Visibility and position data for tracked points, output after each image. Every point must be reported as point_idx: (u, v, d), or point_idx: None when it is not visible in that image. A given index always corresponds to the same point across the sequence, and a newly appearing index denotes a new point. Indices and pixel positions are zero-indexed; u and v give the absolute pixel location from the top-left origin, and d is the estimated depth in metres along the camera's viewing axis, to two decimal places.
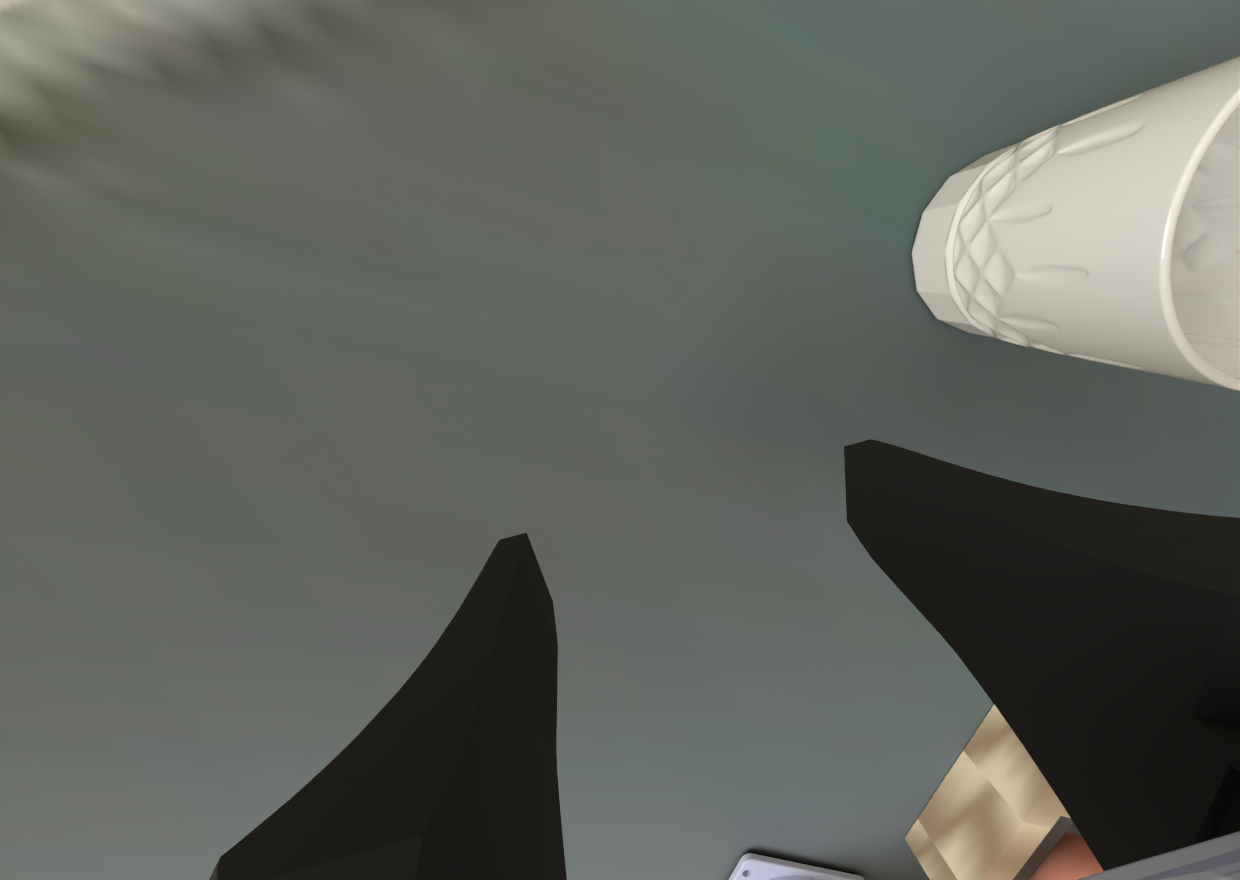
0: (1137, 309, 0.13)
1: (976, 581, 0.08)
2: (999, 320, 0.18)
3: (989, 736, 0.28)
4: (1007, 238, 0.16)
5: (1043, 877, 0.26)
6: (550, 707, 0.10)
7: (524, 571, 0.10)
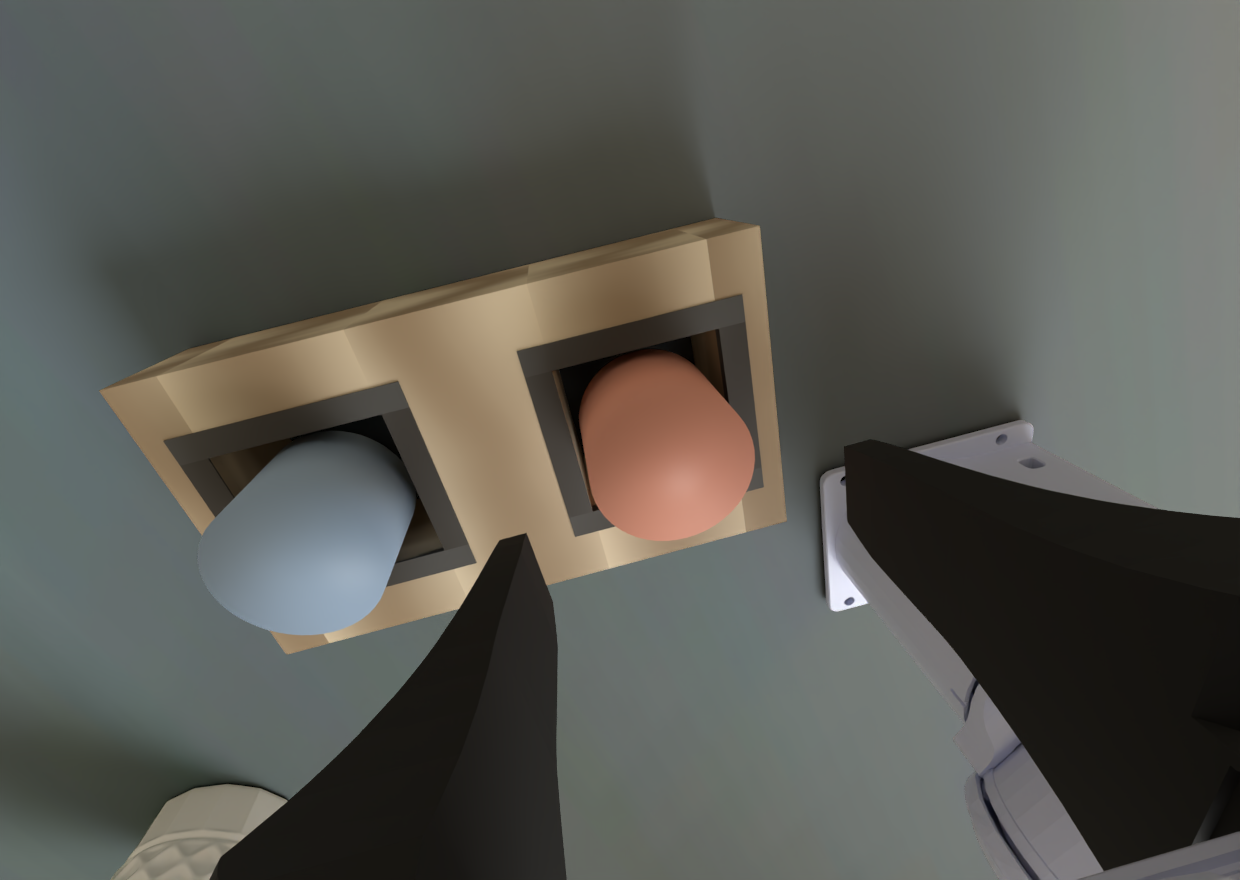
0: None
1: (976, 581, 0.08)
2: None
3: None
4: None
5: None
6: (550, 707, 0.10)
7: (524, 571, 0.10)
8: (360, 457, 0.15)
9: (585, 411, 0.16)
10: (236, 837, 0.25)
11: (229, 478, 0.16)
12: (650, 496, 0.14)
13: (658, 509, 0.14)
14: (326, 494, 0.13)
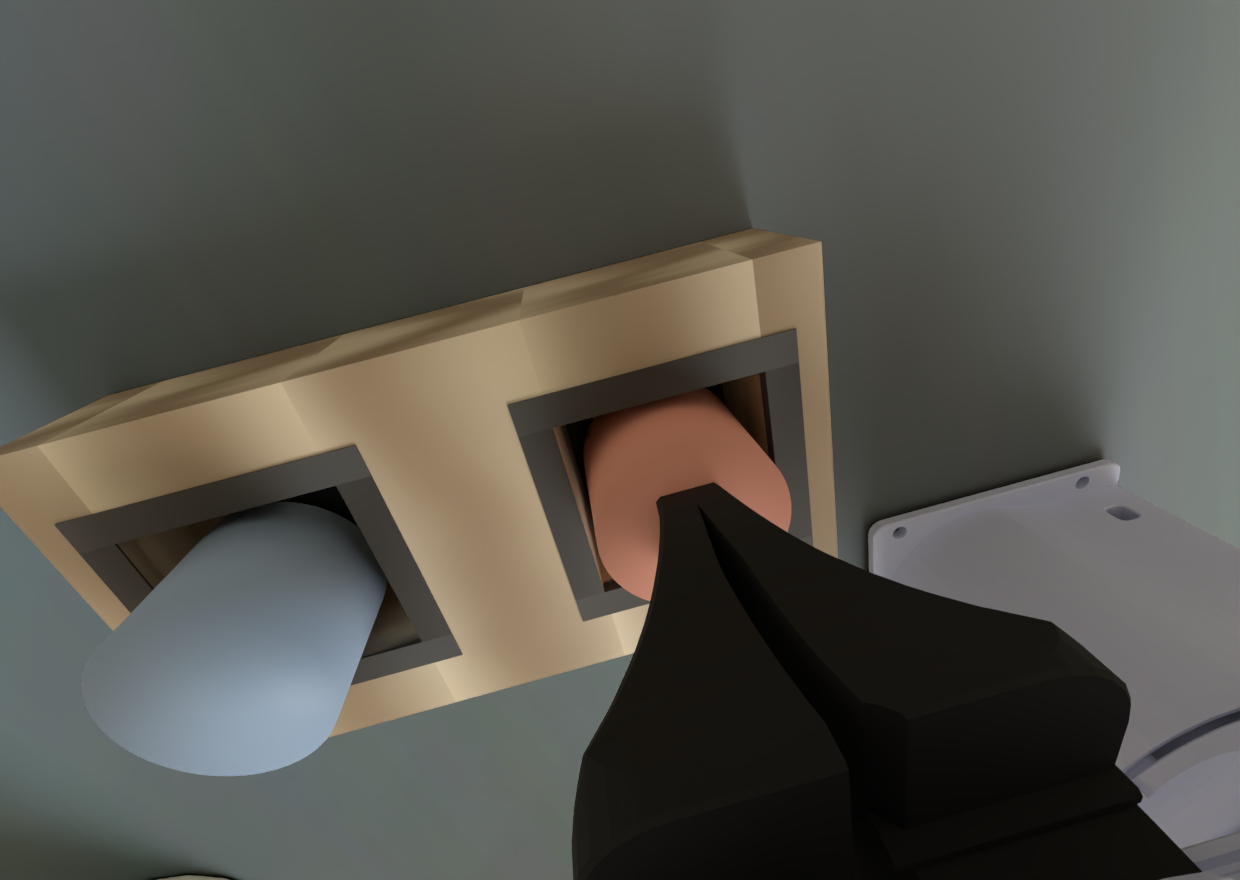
0: None
1: (764, 640, 0.08)
2: None
3: None
4: None
5: None
6: None
7: None
8: (309, 540, 0.12)
9: (590, 451, 0.14)
10: None
11: (147, 564, 0.12)
12: None
13: None
14: (253, 605, 0.10)
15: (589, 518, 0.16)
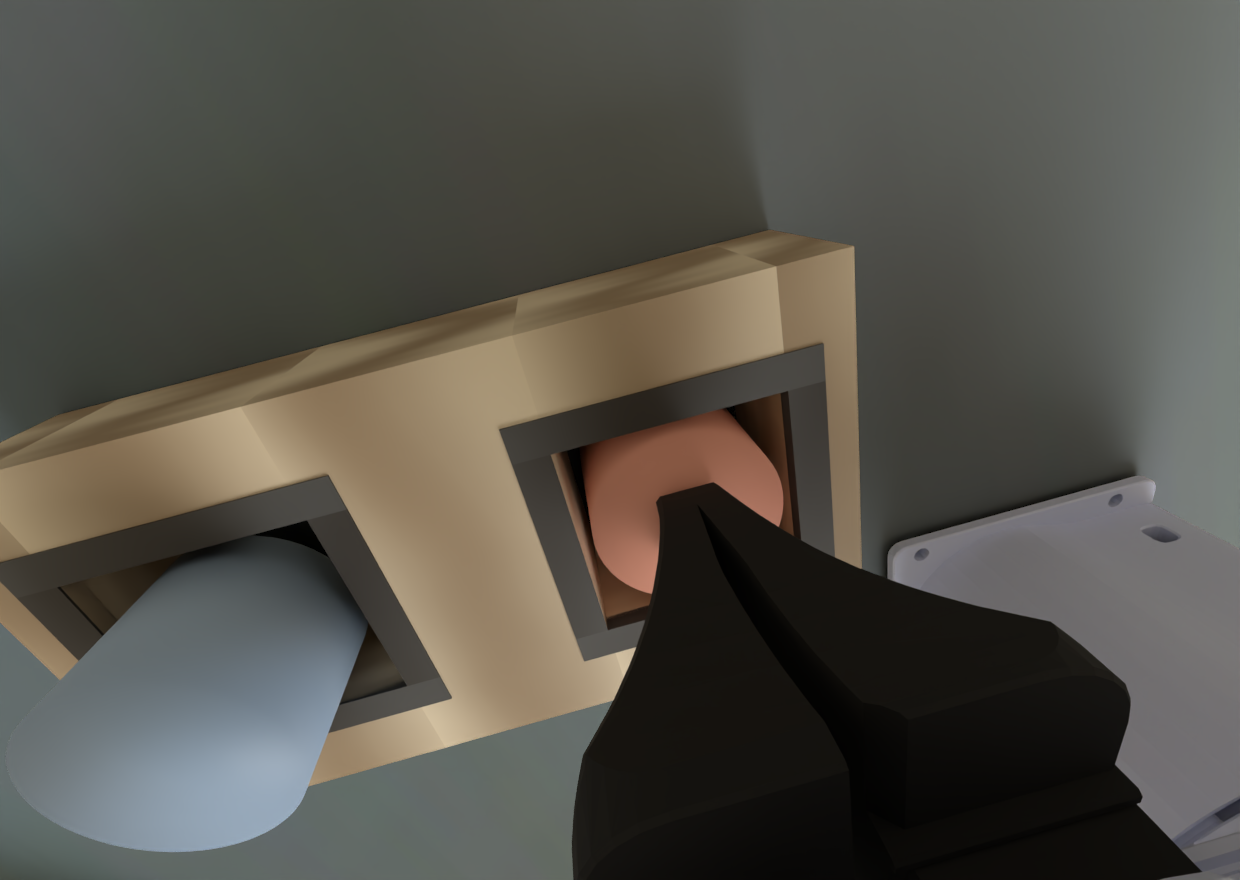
0: None
1: (764, 640, 0.08)
2: None
3: None
4: None
5: None
6: None
7: None
8: (277, 582, 0.11)
9: (586, 445, 0.14)
10: None
11: (96, 607, 0.11)
12: None
13: None
14: (207, 666, 0.09)
15: (590, 545, 0.15)
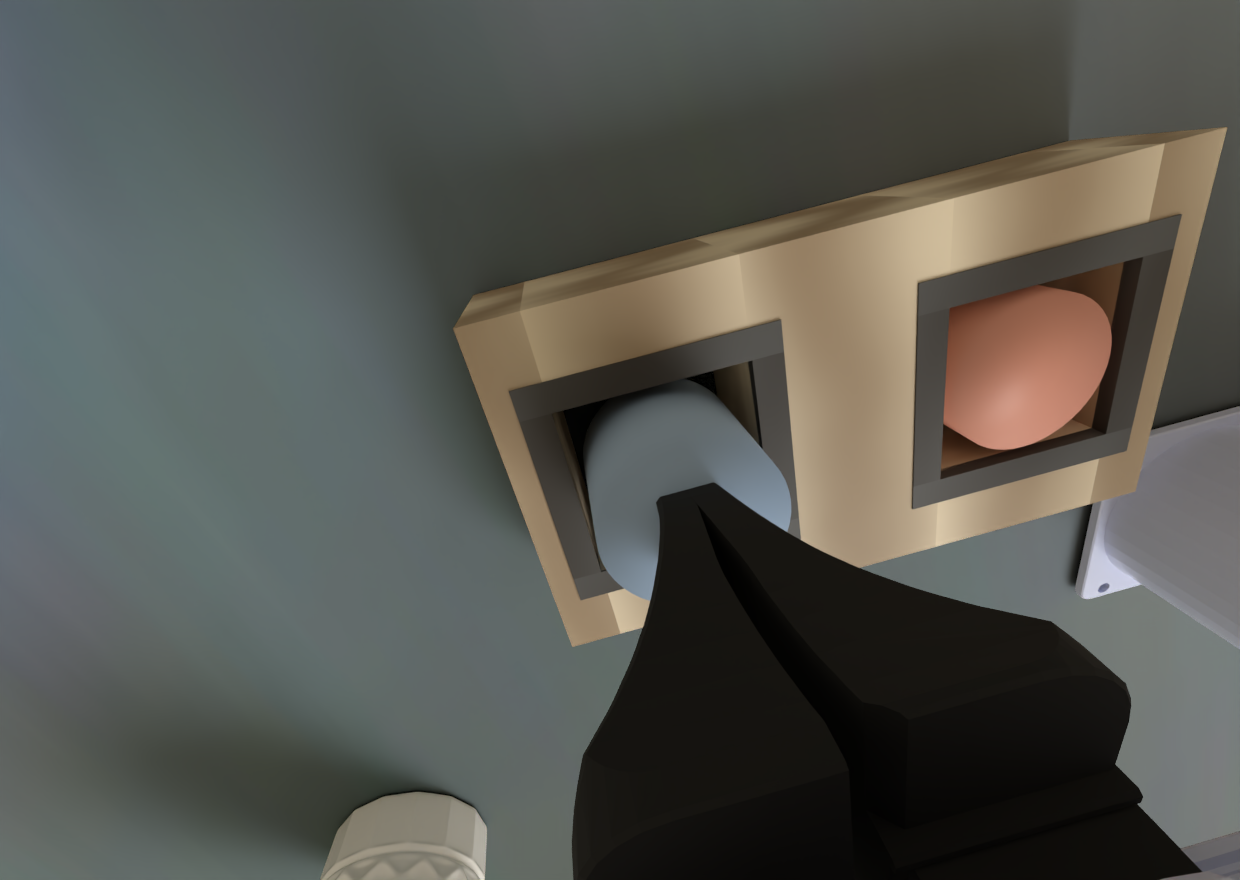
0: None
1: (764, 640, 0.08)
2: None
3: None
4: None
5: None
6: None
7: None
8: (719, 404, 0.13)
9: None
10: (442, 850, 0.22)
11: (560, 438, 0.13)
12: (1003, 401, 0.14)
13: (1007, 415, 0.15)
14: (743, 437, 0.11)
15: None
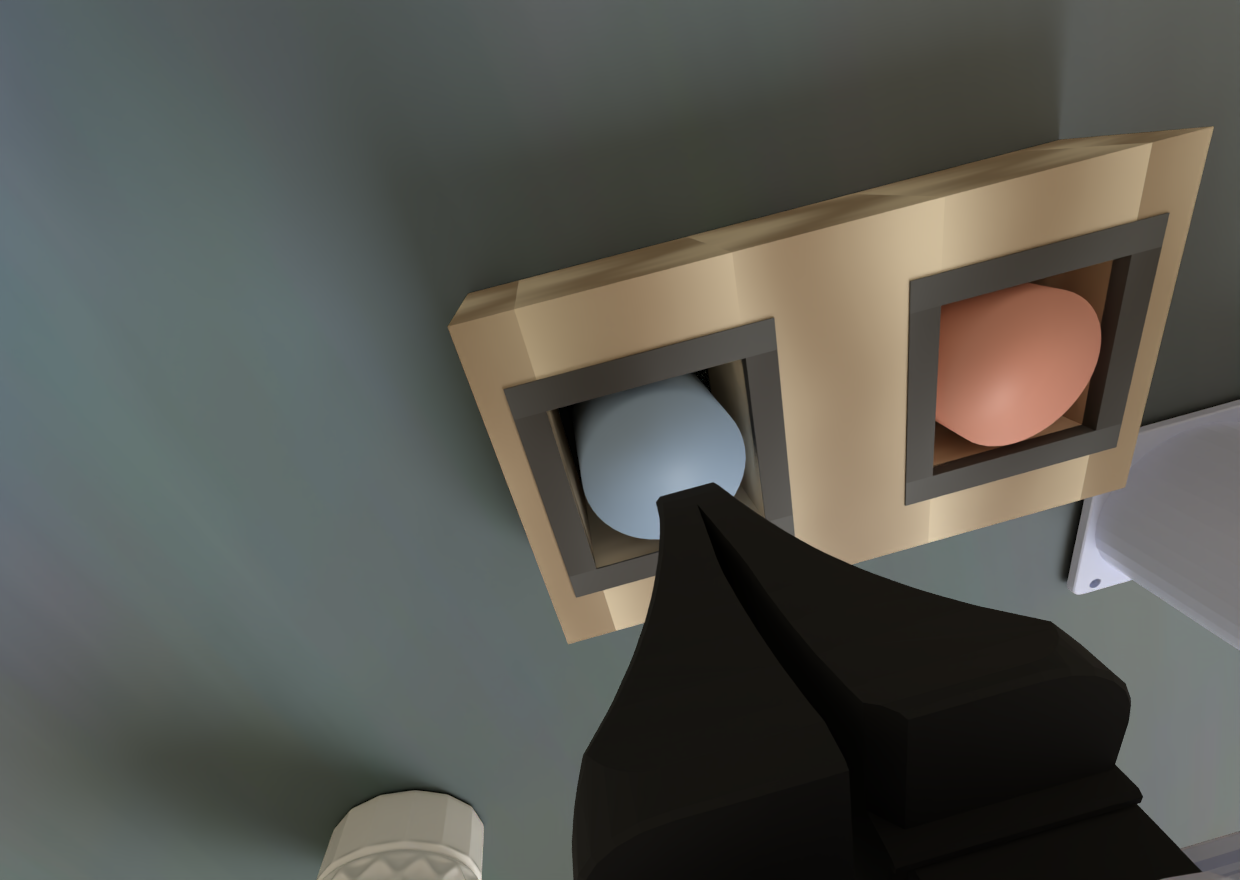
0: None
1: (764, 640, 0.08)
2: None
3: None
4: None
5: None
6: None
7: None
8: None
9: None
10: (438, 848, 0.22)
11: (555, 436, 0.13)
12: (995, 399, 0.15)
13: (998, 412, 0.15)
14: (703, 394, 0.14)
15: None
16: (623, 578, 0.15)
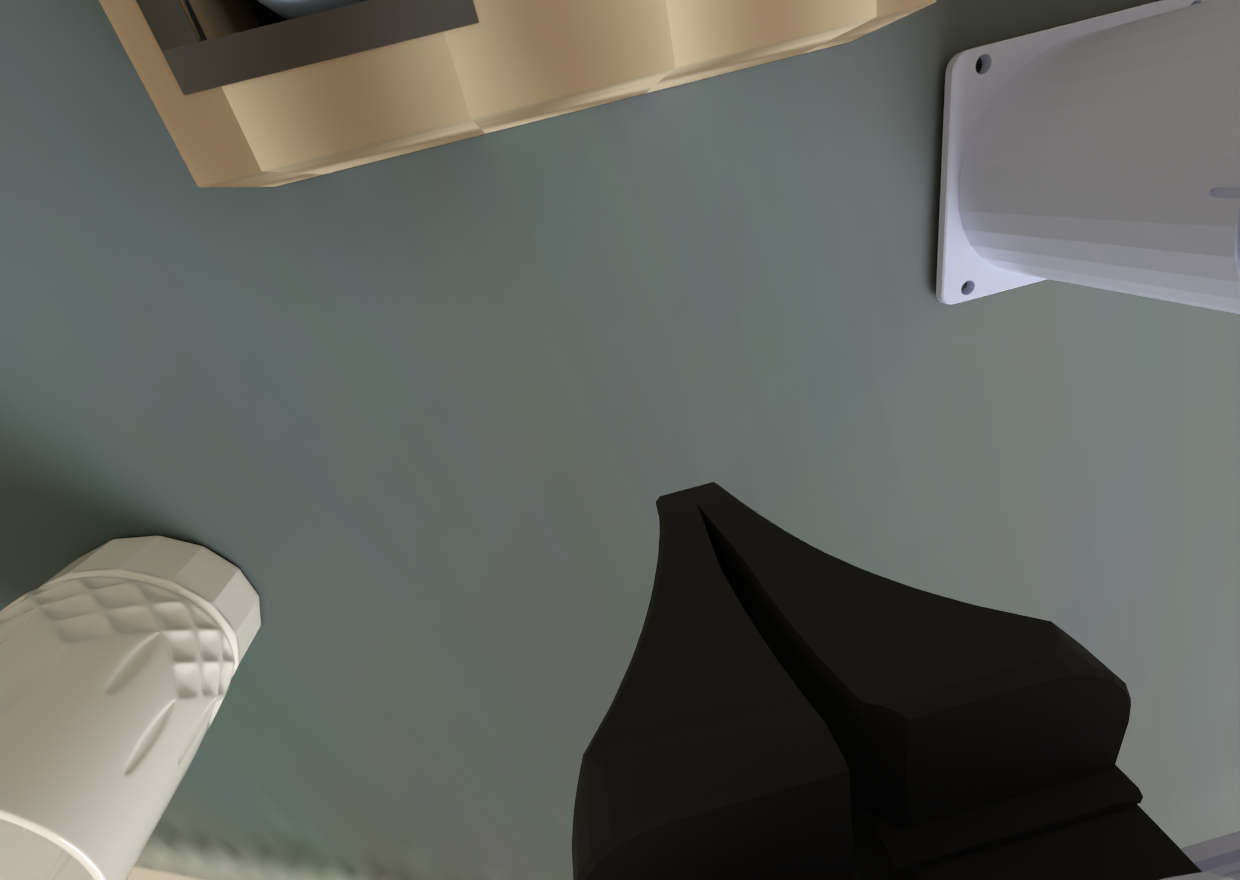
0: (124, 879, 0.14)
1: (764, 640, 0.08)
2: (215, 695, 0.18)
3: (592, 103, 0.16)
4: None
5: None
6: None
7: None
8: None
9: None
10: (164, 583, 0.18)
11: None
12: None
13: None
14: None
15: None
16: (246, 69, 0.12)
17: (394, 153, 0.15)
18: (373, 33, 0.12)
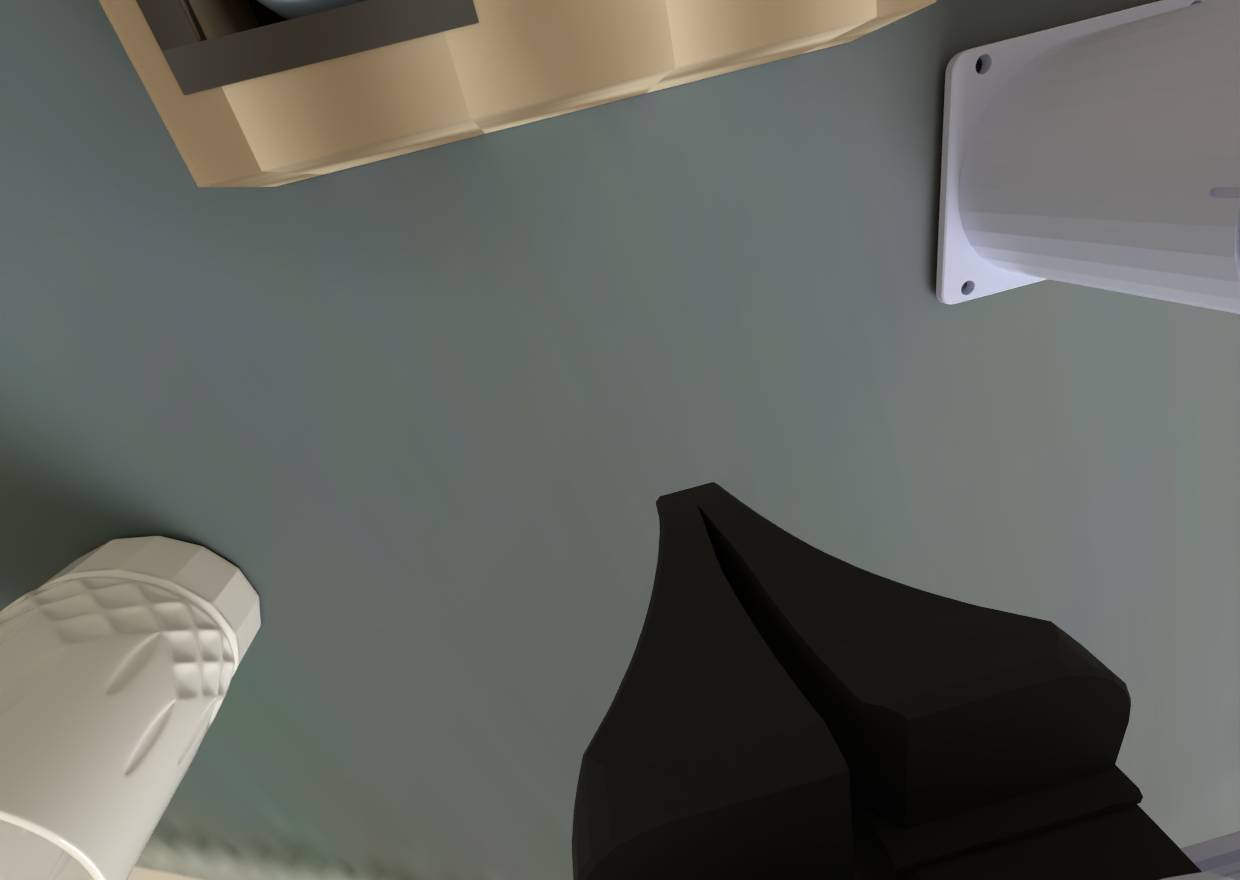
0: (125, 879, 0.14)
1: (764, 640, 0.08)
2: (216, 695, 0.18)
3: (592, 103, 0.16)
4: None
5: None
6: None
7: None
8: None
9: None
10: (164, 583, 0.18)
11: None
12: None
13: None
14: None
15: None
16: (246, 69, 0.12)
17: (394, 153, 0.15)
18: (373, 33, 0.12)
